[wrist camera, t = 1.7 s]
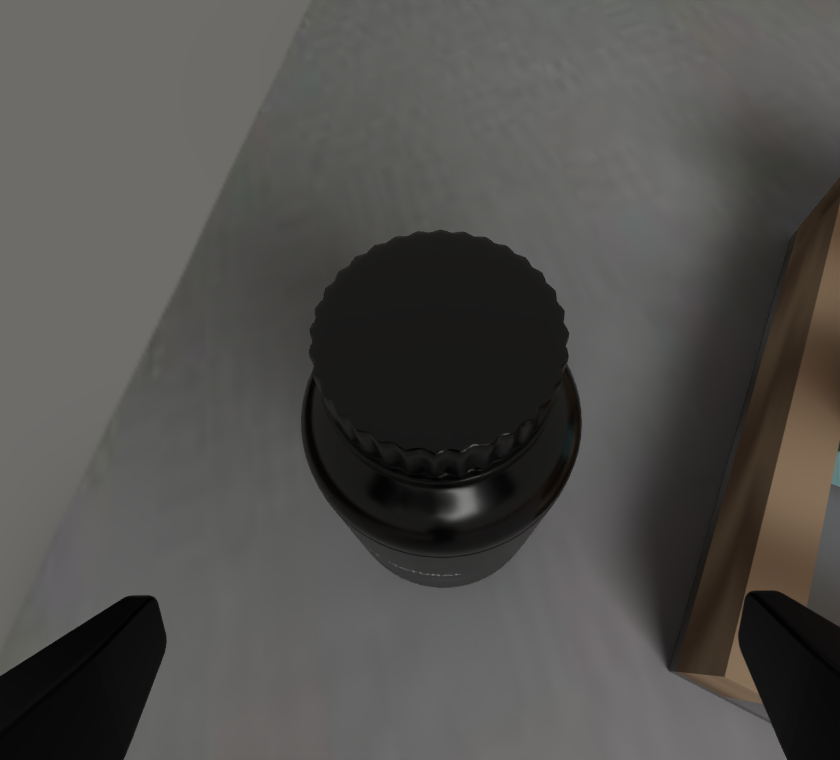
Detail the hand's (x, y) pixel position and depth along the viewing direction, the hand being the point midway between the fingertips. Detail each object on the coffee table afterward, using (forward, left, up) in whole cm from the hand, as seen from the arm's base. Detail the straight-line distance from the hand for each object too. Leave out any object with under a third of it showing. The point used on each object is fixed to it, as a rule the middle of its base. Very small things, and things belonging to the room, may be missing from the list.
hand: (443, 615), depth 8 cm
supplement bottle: (+4, +2, -11) cm, 13 cm away
